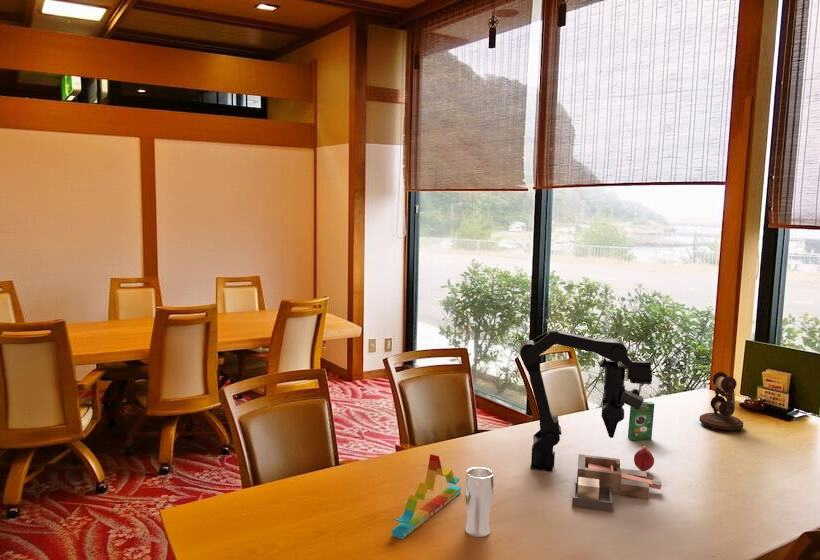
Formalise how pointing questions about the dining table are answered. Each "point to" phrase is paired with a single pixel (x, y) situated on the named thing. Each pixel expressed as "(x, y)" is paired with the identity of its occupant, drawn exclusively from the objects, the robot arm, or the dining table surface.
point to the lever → (629, 476)
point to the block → (588, 488)
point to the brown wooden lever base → (614, 476)
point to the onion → (643, 459)
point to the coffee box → (641, 422)
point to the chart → (420, 516)
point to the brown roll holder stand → (723, 405)
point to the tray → (600, 505)
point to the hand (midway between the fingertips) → (611, 432)
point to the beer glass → (478, 500)
